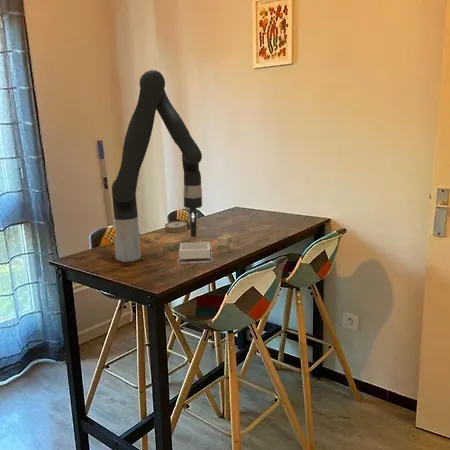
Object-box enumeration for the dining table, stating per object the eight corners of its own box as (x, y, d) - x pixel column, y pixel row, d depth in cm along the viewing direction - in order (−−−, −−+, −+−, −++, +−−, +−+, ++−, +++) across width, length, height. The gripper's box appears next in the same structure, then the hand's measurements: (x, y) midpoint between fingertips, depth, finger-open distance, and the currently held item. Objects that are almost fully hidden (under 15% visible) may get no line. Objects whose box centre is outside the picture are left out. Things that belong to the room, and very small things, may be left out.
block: (225, 252, 196) (225, 238, 194) (218, 250, 199) (217, 237, 197) (233, 250, 199) (232, 236, 197) (225, 248, 202) (224, 235, 200)
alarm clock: (159, 226, 233) (177, 215, 245) (161, 235, 235) (178, 224, 246) (178, 228, 227) (195, 217, 239) (179, 238, 229) (196, 226, 241)
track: (180, 246, 207) (180, 245, 207) (211, 244, 208) (211, 243, 208) (177, 263, 183) (177, 262, 183) (212, 262, 183) (212, 261, 183)
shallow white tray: (179, 251, 196) (179, 243, 196) (211, 250, 197) (210, 241, 196) (178, 260, 185) (177, 251, 184) (211, 258, 185) (211, 249, 184)
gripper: (184, 193, 199) (185, 232, 203) (183, 198, 186) (184, 240, 190) (201, 193, 199) (202, 232, 203) (201, 198, 187) (202, 240, 190)
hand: (193, 236), depth 197 cm, fingers closed
